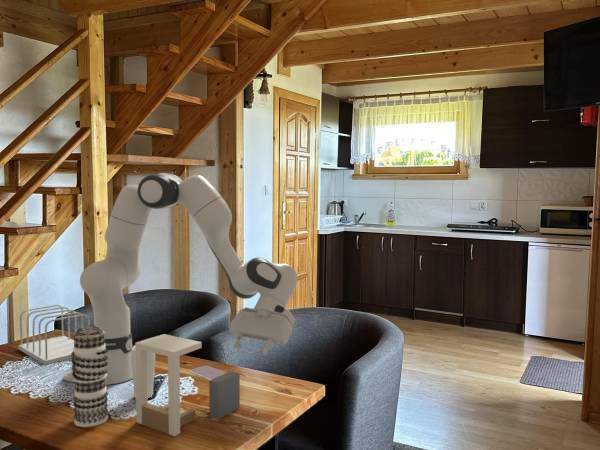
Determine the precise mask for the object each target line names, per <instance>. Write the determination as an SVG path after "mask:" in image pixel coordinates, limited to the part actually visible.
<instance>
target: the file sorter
mask: <svg viewBox="0 0 600 450" xmlns="http://www.w3.org/2000/svg"><path fill="white" fill-rule="evenodd" d="M29 311H31V312H29ZM47 311H48V312H47ZM26 312H29V313H28V315H27V317H26V342H25V343H23V340H24V339H23V318H22V317H23V315H24V314H25V313H26ZM42 312H43V313H42ZM35 313H39V314H36V315H35V316H34V317H33V319H32V341H31V342H29V339H30V338H29V330H30V328H29V321H30V319H29V318H30V317H31V316H32V314H35ZM59 313H61V314H59ZM51 314H53V315H51ZM54 314H55V315H54ZM46 315H49V316H46ZM40 316H43V317H42V318H41V319H40V320H39V321H38V340H37V341H35V334H36V333H35V323H36V321H35V320H36V319H37V318H38V317H40ZM64 316H65V317H64ZM58 317H59V318H58ZM79 317H81V318H80V319H81V327H84V317H86V318H87V326H91V321H90V319H91V318H90V317H89V315H88V314H84V313H81V312H79V311H78V312H77V311H75V309H69V308H68V307H66V306H62V305H60V304H51V305H45V306H40V307H33V308H29V309H27V308H26V309H25V310H23V311H22V312H20V315H19V328H20V334H19V335H20V344H18V346H17V347H18V351H21V352H23V354H25V355H27V356H29V357H30V358H32V357H33V359H34V360H36V361H37V360H38V361H37V362H39V363H41V364H42V363H43V364H42V365H44V366H47V364H48V365H51V363H52V364H55V362H56V363H59V362H58V361H60V362H64V361H68V360H72V359H71V358H73V357H71V355H72V354H71V353H72V352H73V350H74V339H72V338H71V319H72V318H74V333H76V331H77V330H78V326H77V325H78V323H77V322H78V321H77V320H78V318H79ZM46 319H50V320H48V321H47V322H46V323H45V326H44V339H41V336H42V335H41V332H42V331H41V324H42V321H44V320H46ZM60 320H61V336H56V337H50V338H48V325H49V324H50V323H52V322H57V321H60ZM64 320H68V321H67V331H68V333H67V334H68V336H66V335H65V334H64ZM74 356H75V354H74ZM67 359H68V360H67ZM63 360H64V361H63Z"/></svg>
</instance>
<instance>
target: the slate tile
mask: <svg viewBox="0 0 600 450" xmlns="http://www.w3.org/2000/svg"><path fill="white" fill-rule="evenodd" d="M240 381H241V380H240V373H239V372H236V371H234V370H233V371H232V370H230V371H228V372H226V373H225V374H223V375H221V376H218V377H216V378H214V379H212V380H208V382H209V385H208V386H209V387H208V389H209V390H208V391H209V392H208V393H209V394H208V395H209V397H208V399H209V403H208V404H209V405H208V406H209V409H208V410H209V411H208V413H209V414H208V415H209V417H210V418H213V419H217V420H220V419H221V418H223V417H226V416H227V415H228V414H231V413H233V412H234V411H237V410H238V409H239V408H241V407H240V400H241V399H240V394H241V393H240V391H241V390H240V386H241V385H240V383H241V382H240Z"/></svg>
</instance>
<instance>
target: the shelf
mask: <svg viewBox="0 0 600 450" xmlns="http://www.w3.org/2000/svg"><path fill="white" fill-rule="evenodd" d="M134 346H135V354H136V399H135V402H136V404H135V406H136V407H135V410H136V413H135V415H136V416H135V417H136V419H135V420H136V423H137V424H140V425H143V426H145V427H148V428H151V429H153V430H156V431H159V432H161V433H164V434H168V435H170V436H172V437H176V436H178V435H180V434H181V427H183V426H185V425H187V424H189V423H191V422H193V421H195V420H196V410H195V409H192V408H190V409H188V410H186V411H184V410H181V379H180V377H181V373H180V372H181V371H180V370H181V367H180V366H181V364H180V362H181V359H180V356H184V355H186V354H188V353H191V352H194V351H196V350H199V349H202V348H203V347H202V346H203V344H202V341H197V340H193V339H189V338H183V337H179V336H174V335H170V334H166V333H163V334H160V335H156V336H153V337H149V338H146V339H143V340H140V341H137V342H135V343H134ZM147 351H148V352H152V353H155V355H161V356H165V357H167V374H168V375H167V377H168V378H167V383H168V384H167V385H168V388H167V390H168V392H167V393H168V395H167V397H168V398H167V399H168V404H165V405H163V406H157V405H153V404H151V403H148V399H147Z"/></svg>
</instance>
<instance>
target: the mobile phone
mask: <svg viewBox="0 0 600 450" xmlns="http://www.w3.org/2000/svg"><path fill="white" fill-rule="evenodd" d="M189 372H190V373H192V374H194V375H195V376H199V377H201V378H203V379H206V380H208V381H210V380H212V379H214V378H216V377H218V376H221V375H223V374H225V373H227V372H225V371H222V370H221V369H218V368H215V367H212V366H209V365H207V364H206V365H201V366H198V367H195V368H192V369H189Z"/></svg>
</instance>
